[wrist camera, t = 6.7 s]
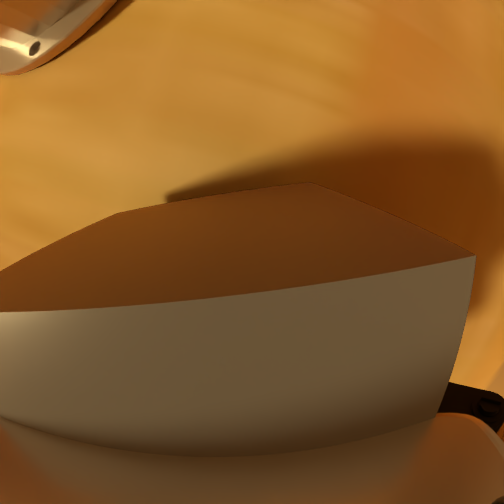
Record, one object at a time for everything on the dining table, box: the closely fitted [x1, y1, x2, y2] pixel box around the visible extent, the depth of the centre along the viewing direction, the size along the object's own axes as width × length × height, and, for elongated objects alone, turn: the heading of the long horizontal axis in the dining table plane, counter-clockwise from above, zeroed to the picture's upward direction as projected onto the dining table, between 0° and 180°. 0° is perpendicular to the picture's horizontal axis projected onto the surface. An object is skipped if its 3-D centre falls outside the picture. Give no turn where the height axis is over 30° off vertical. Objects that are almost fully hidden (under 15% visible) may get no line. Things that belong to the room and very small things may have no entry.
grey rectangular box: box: [0, 182, 476, 457], centre depth 8 cm, size 10×8×9 cm
